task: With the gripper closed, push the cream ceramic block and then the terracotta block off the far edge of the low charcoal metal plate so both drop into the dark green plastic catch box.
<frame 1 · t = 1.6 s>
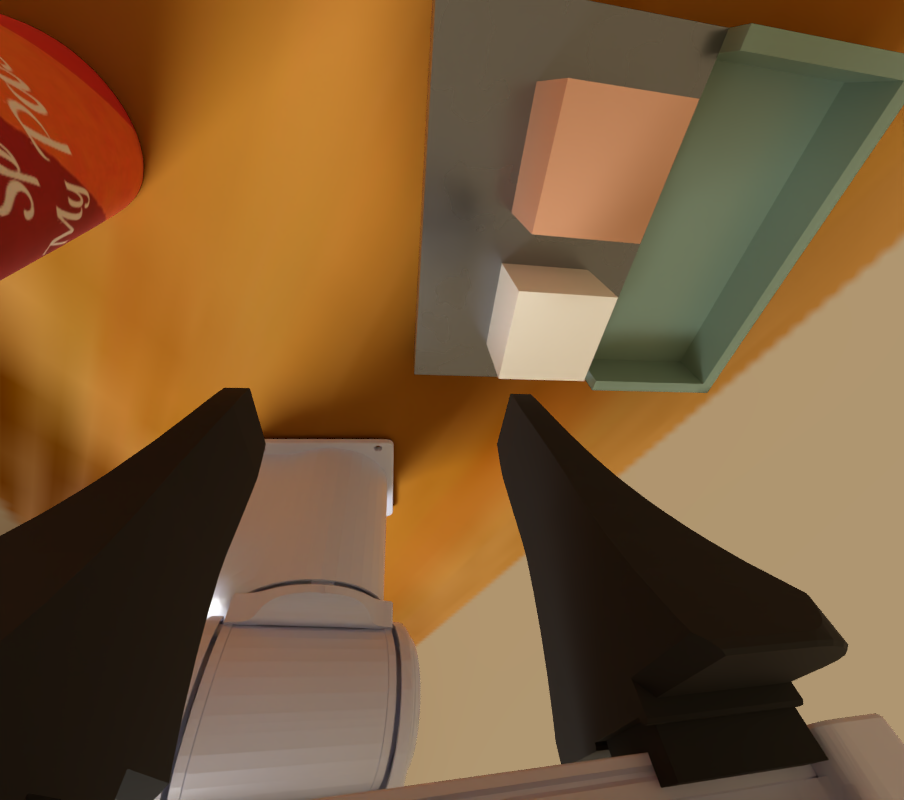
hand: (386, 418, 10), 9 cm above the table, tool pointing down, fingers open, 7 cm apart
tile cream: (534, 308, 18), point 1 cm above the table, touching plate
terracotta block: (574, 159, 14), point 1 cm above the table, touching plate
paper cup: (52, 125, 13), on the table
catch box: (688, 246, 18), on the table
plate: (525, 231, 17), on the table
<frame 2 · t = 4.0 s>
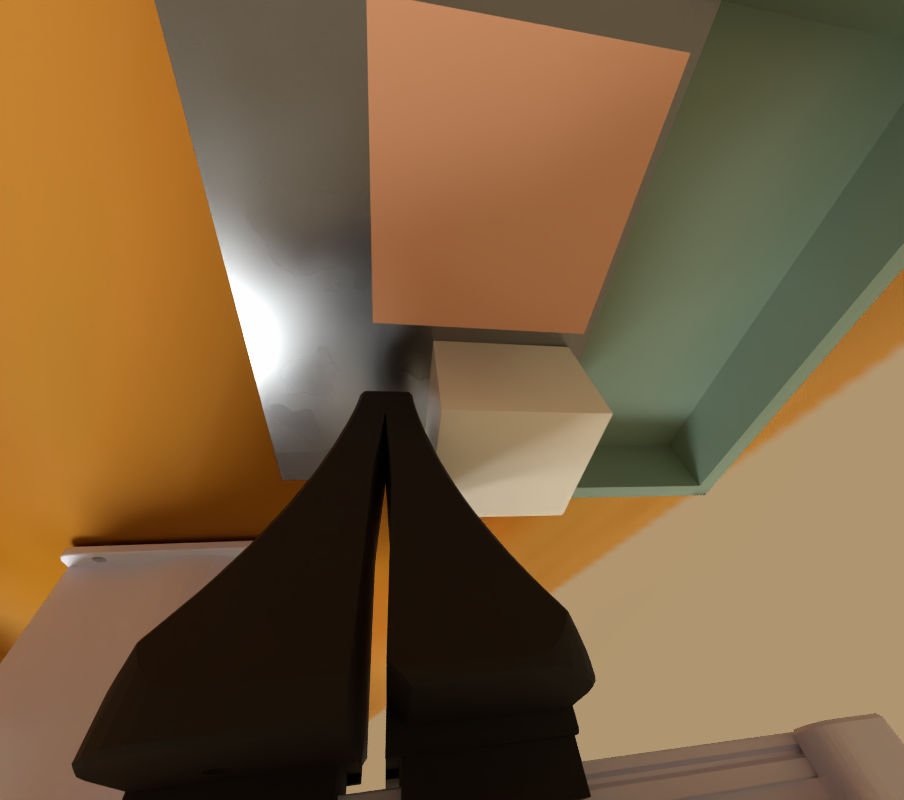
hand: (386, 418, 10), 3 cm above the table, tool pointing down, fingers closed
tile cream: (490, 398, 12), point 2 cm above the table
terracotta block: (474, 177, 8), point 1 cm above the table, touching plate
catch box: (677, 301, 12), on the table
plate: (425, 283, 11), on the table
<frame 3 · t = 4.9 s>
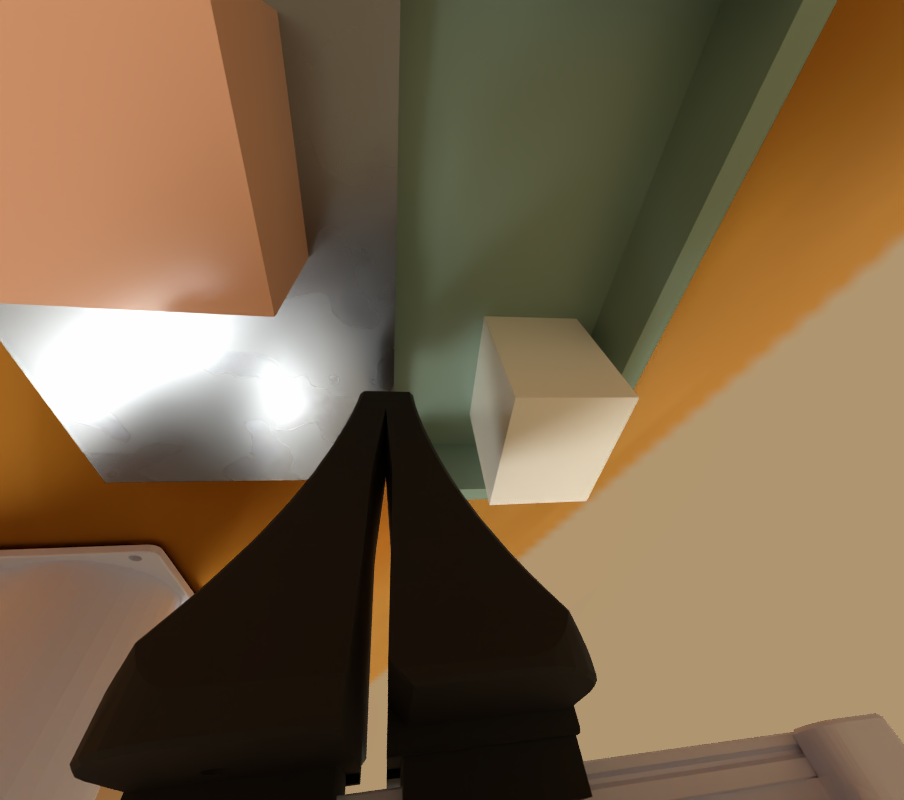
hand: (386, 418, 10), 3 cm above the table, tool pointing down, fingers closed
tile cream: (486, 408, 11), point 2 cm above the table, tilted 90°, touching catch box
terracotta block: (184, 142, 7), point 1 cm above the table, touching plate
catch box: (512, 289, 11), on the table
plate: (216, 268, 10), on the table
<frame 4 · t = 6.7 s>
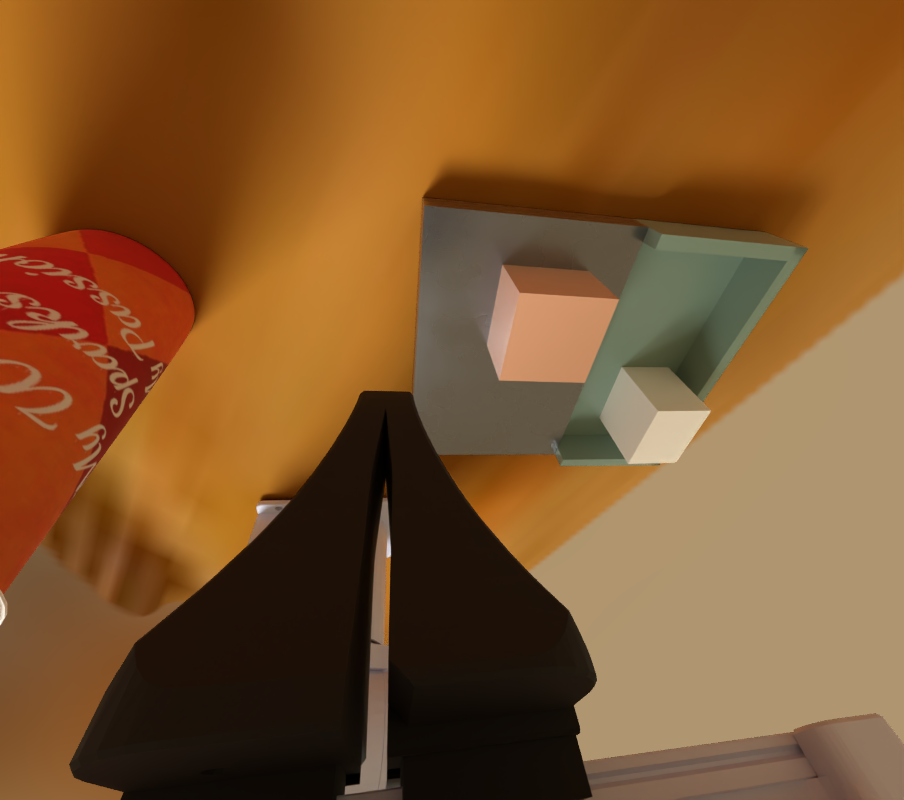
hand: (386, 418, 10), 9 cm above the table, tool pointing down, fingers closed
tile cream: (624, 414, 21), point 2 cm above the table, tilted 90°, touching catch box
terracotta block: (535, 310, 17), point 1 cm above the table, touching plate
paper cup: (126, 291, 17), on the table
catch box: (637, 353, 22), on the table
plate: (500, 347, 20), on the table
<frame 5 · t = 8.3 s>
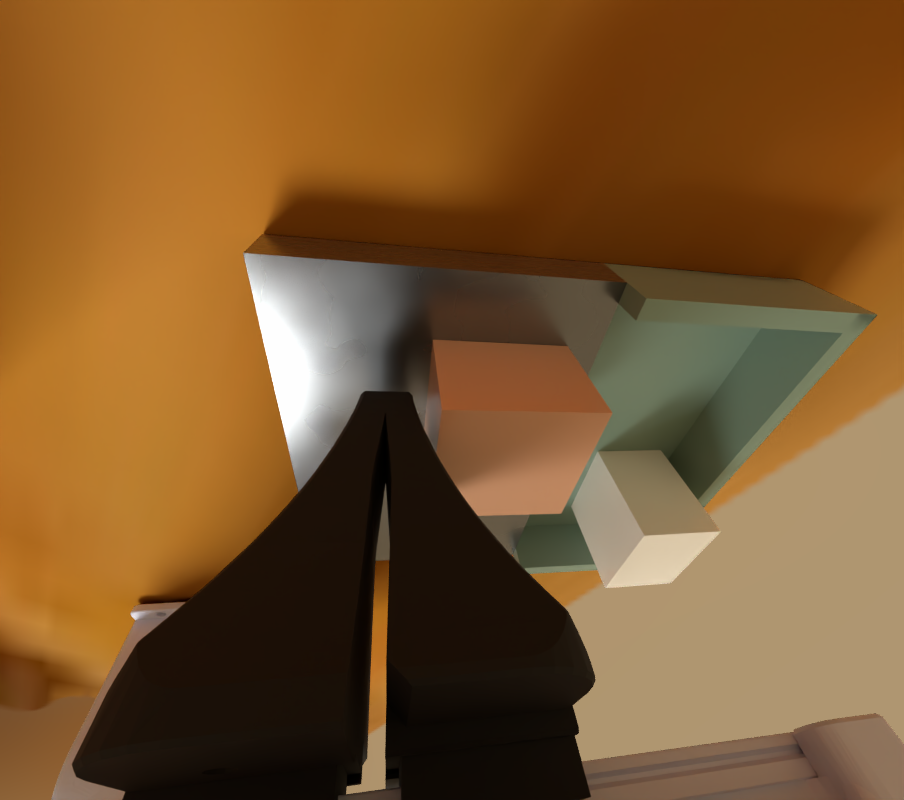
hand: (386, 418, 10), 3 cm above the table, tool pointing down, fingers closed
tile cream: (601, 518, 16), point 2 cm above the table, tilted 90°, touching catch box
terracotta block: (489, 397, 12), point 2 cm above the table, touching gripper
catch box: (618, 433, 16), on the table
plate: (426, 432, 15), on the table
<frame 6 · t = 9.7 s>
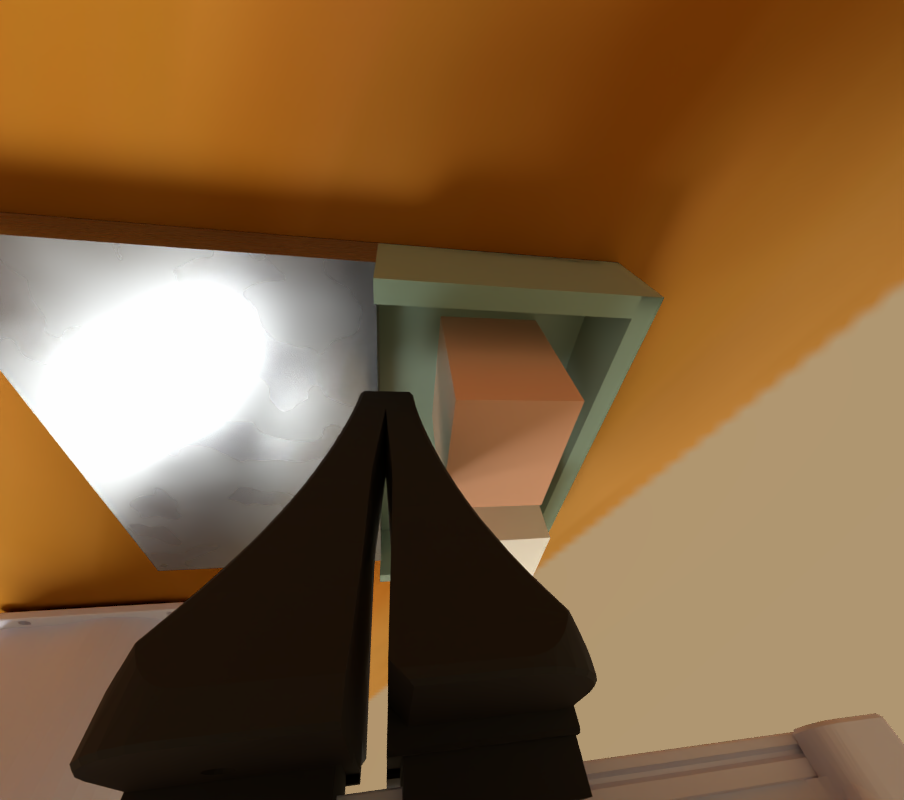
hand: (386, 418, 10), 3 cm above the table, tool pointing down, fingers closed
tile cream: (449, 522, 15), point 2 cm above the table, tilted 90°, touching catch box
terracotta block: (440, 409, 11), point 2 cm above the table, tilted 90°, touching catch box
catch box: (469, 431, 15), on the table
plate: (249, 430, 14), on the table
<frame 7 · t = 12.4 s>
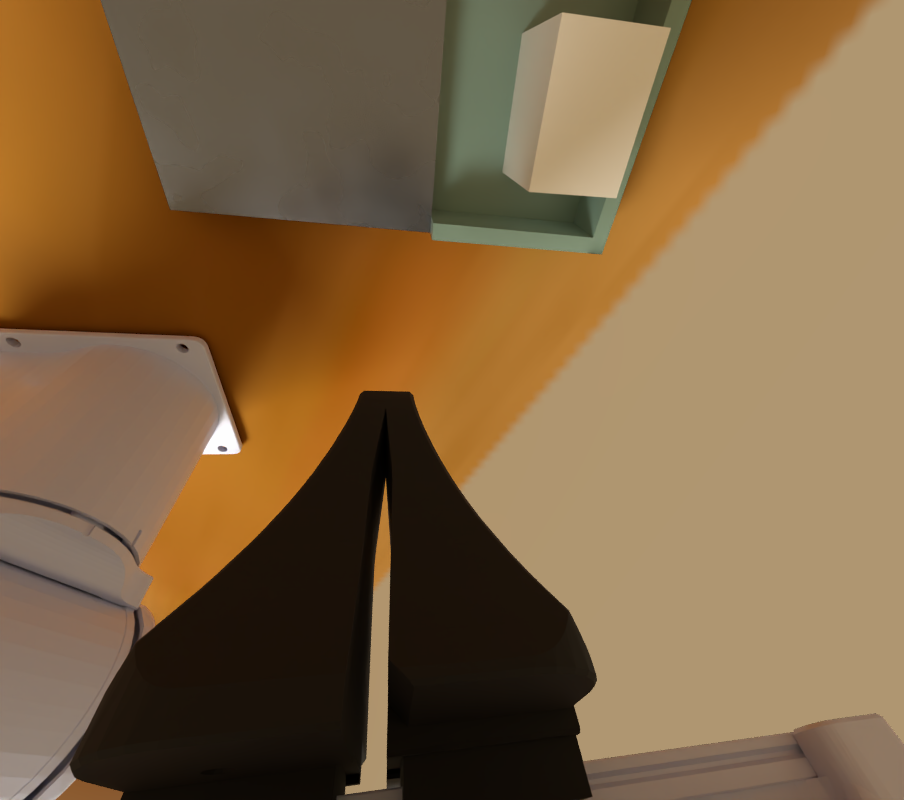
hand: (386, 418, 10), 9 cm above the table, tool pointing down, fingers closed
tile cream: (525, 110, 12), point 2 cm above the table, tilted 90°, touching catch box
catch box: (548, 5, 12), on the table
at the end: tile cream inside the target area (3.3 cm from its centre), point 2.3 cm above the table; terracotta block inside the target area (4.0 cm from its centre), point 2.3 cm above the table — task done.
